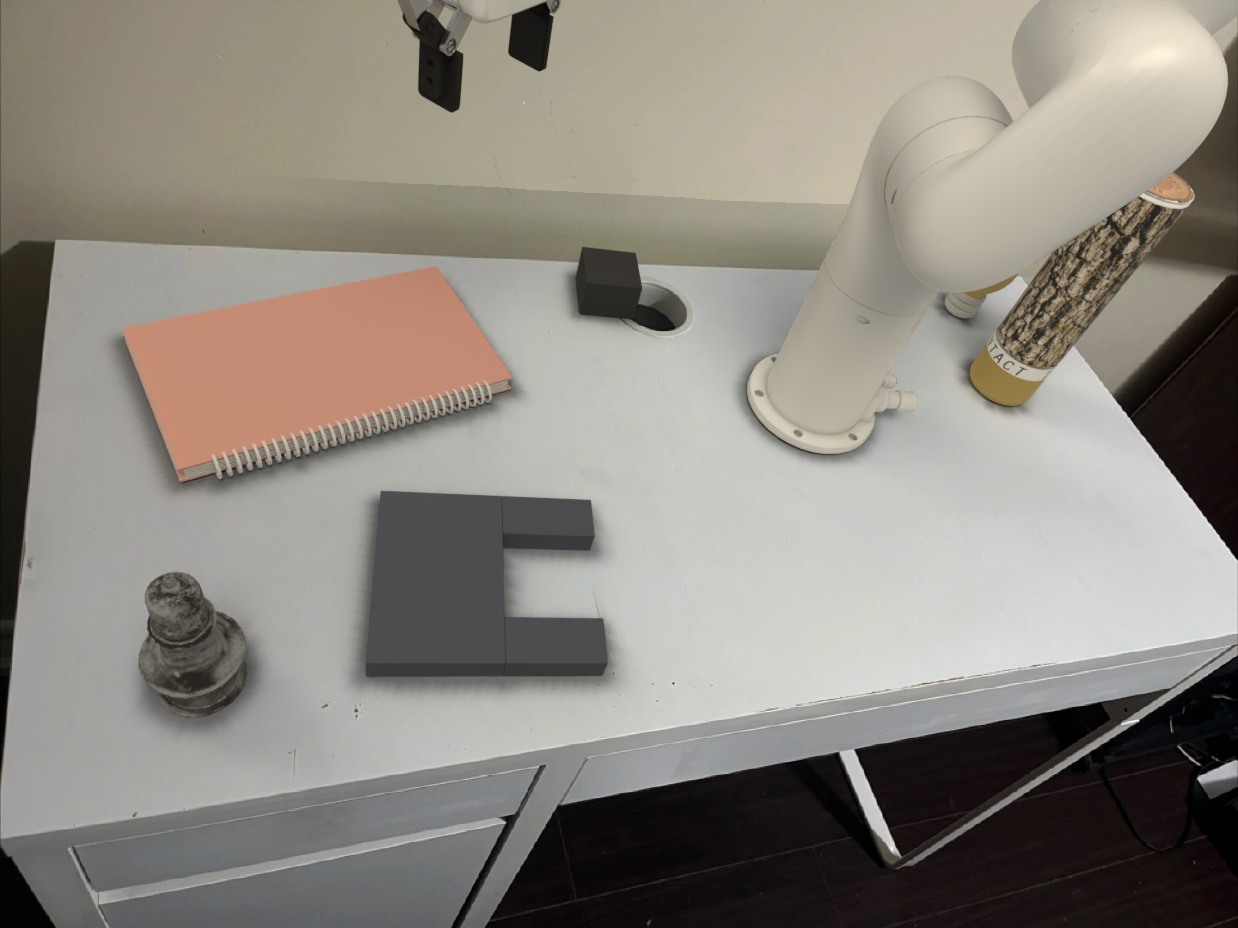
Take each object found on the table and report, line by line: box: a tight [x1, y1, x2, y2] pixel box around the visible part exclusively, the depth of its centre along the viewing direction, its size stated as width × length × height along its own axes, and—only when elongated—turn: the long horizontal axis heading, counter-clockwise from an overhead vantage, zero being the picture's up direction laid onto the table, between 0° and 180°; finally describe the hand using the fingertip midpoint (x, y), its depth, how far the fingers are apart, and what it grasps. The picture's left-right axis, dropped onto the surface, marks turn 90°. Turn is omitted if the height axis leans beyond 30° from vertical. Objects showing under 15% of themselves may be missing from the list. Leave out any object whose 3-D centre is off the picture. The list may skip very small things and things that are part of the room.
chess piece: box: [138, 571, 248, 718], centre depth 50 cm, size 6×6×12 cm
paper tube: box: [969, 172, 1196, 407], centre depth 82 cm, size 7×7×25 cm
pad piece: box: [575, 246, 643, 320], centre depth 85 cm, size 6×6×4 cm
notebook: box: [120, 265, 514, 483], centre depth 72 cm, size 27×17×2 cm, turn 122°
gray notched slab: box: [365, 490, 609, 678], centre depth 62 cm, size 16×14×2 cm
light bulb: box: [944, 273, 1019, 319], centre depth 95 cm, size 6×6×10 cm
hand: (484, 81), depth 61 cm, fingers open, 9 cm apart
